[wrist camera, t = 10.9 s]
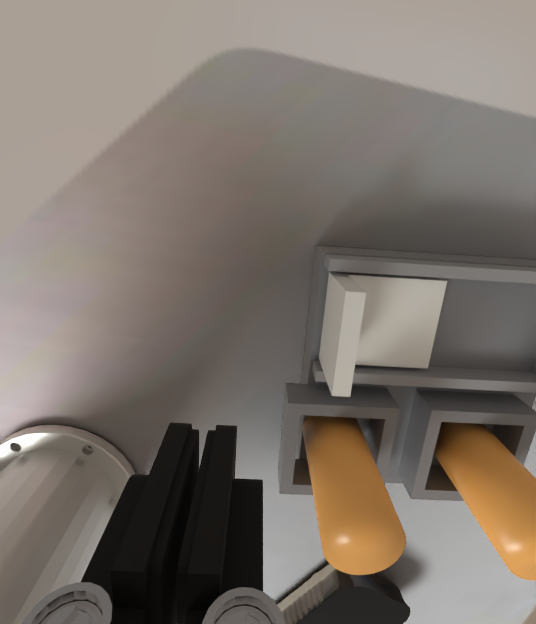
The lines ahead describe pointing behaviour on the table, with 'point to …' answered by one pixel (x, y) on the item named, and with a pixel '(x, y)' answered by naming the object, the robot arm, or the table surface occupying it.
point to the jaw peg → (493, 491)
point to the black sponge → (344, 600)
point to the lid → (377, 324)
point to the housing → (408, 400)
